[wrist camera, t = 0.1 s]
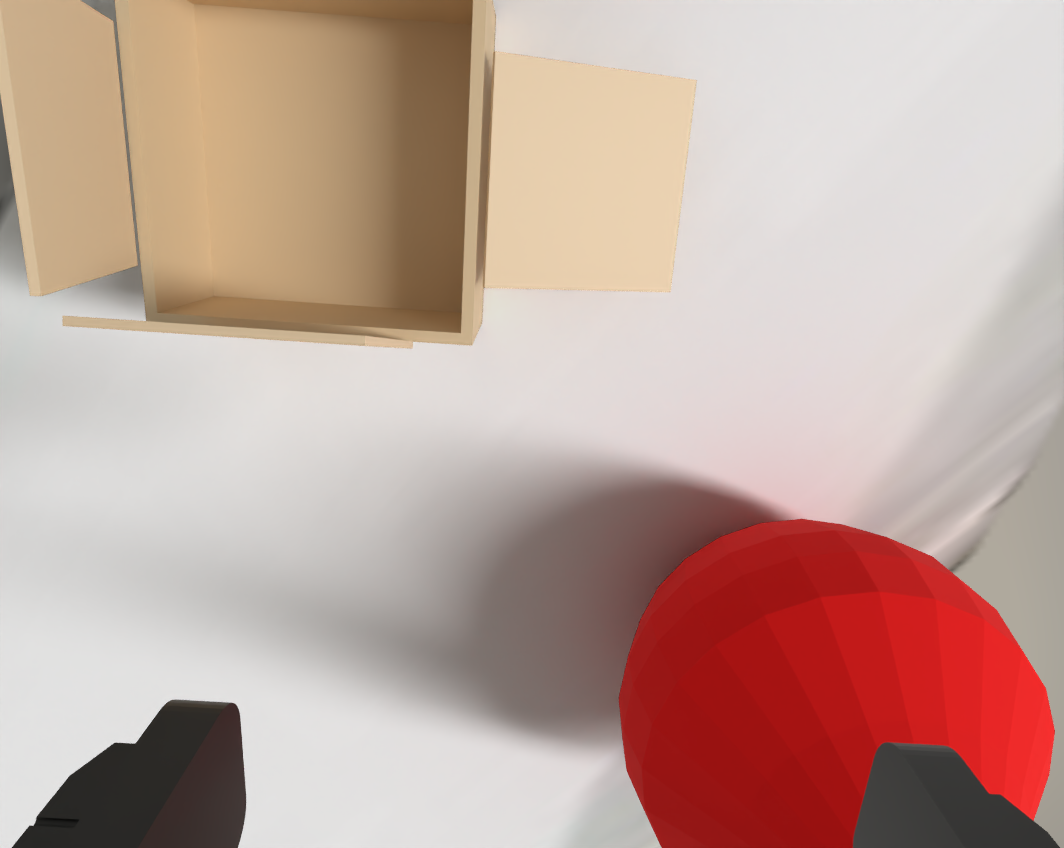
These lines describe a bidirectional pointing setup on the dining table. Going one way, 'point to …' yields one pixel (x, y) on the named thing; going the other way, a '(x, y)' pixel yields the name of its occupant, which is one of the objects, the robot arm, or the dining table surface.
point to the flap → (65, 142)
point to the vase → (816, 686)
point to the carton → (385, 166)
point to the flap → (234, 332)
